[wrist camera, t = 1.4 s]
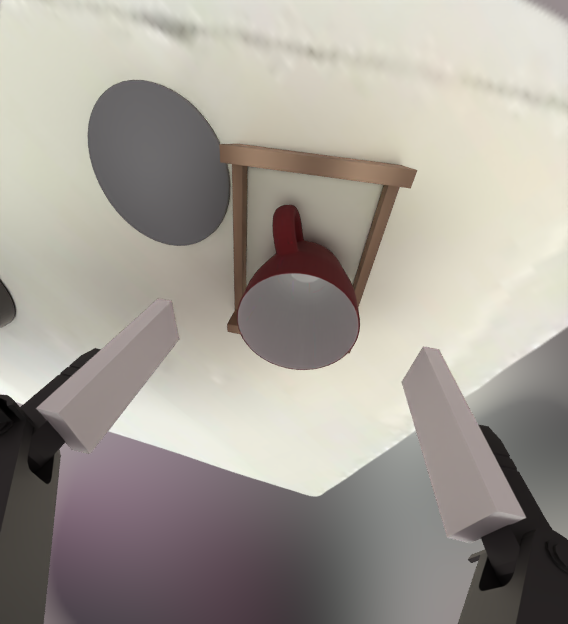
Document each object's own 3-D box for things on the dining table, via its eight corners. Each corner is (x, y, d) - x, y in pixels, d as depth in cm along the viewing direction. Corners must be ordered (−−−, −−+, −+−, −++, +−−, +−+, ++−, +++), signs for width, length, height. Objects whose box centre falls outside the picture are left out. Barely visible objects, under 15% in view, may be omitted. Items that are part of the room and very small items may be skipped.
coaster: (118, 234, 25) (114, 236, 24) (69, 72, 18) (62, 70, 17) (231, 252, 24) (229, 254, 24) (227, 91, 17) (224, 90, 17)
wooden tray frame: (238, 310, 28) (227, 331, 25) (237, 143, 19) (219, 144, 16) (346, 328, 28) (349, 353, 24) (401, 165, 18) (417, 170, 15)
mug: (241, 213, 22) (191, 255, 14) (329, 177, 19) (330, 204, 11) (283, 306, 27) (265, 377, 19) (356, 288, 25) (371, 361, 16)
